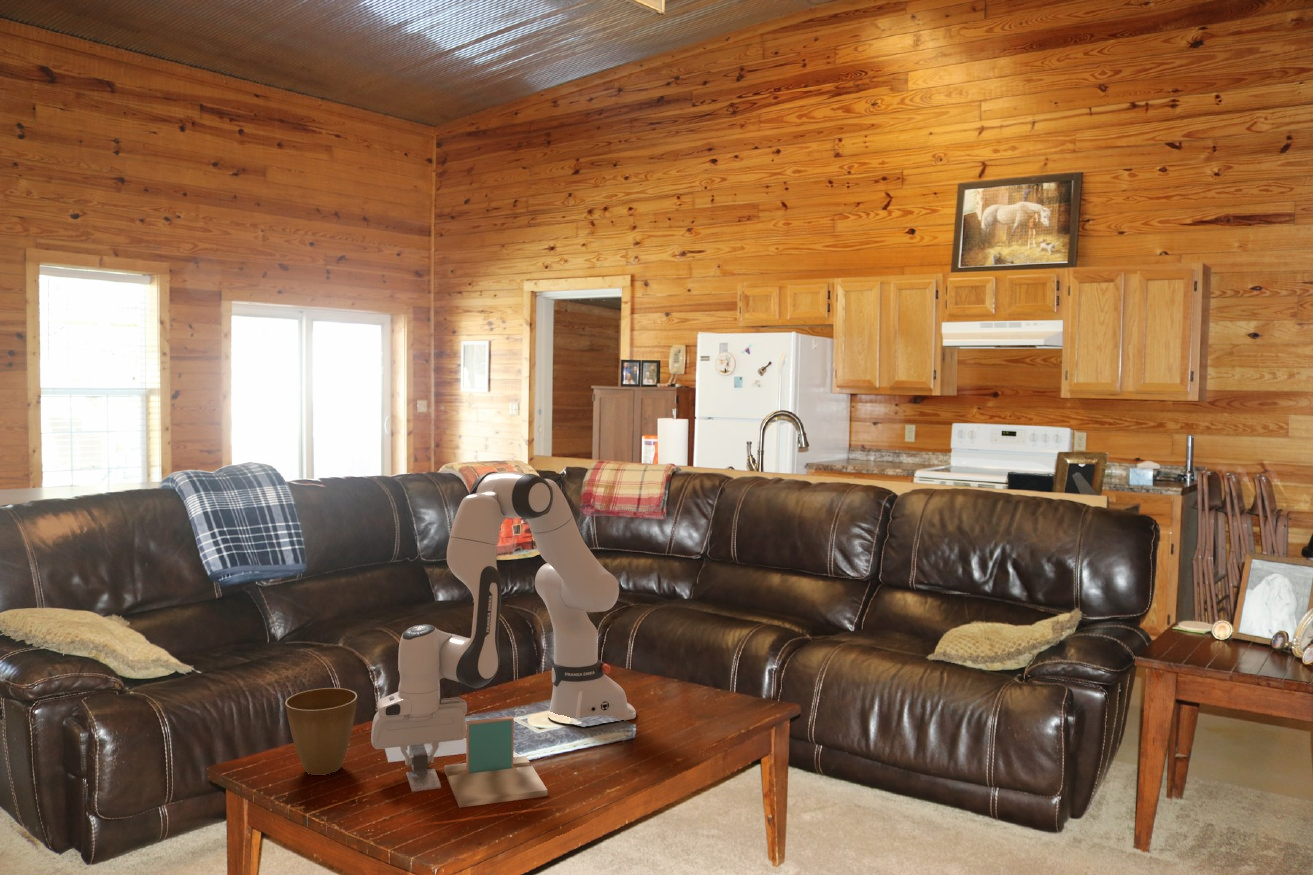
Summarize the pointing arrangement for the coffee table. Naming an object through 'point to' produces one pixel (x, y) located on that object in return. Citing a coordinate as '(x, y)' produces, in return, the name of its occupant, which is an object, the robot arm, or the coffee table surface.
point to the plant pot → (321, 727)
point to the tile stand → (495, 783)
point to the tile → (489, 744)
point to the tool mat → (443, 750)
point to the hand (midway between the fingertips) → (419, 763)
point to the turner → (421, 770)
